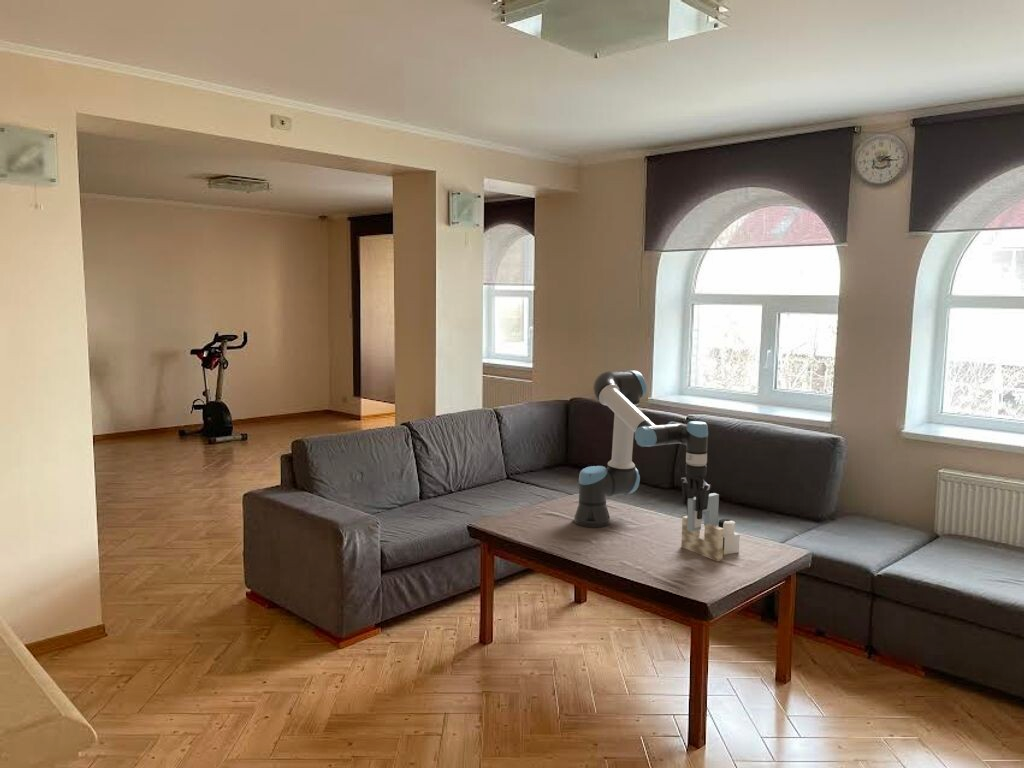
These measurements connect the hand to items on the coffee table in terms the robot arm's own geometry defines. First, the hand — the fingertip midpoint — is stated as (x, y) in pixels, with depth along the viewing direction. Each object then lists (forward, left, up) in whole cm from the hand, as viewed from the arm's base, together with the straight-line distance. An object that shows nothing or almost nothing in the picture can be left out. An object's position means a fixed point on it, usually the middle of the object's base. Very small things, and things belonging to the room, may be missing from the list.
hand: (694, 525), depth 274 cm
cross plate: (0, +5, -2) cm, 5 cm away
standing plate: (0, +5, -12) cm, 12 cm away
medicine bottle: (+3, +15, -12) cm, 19 cm away
